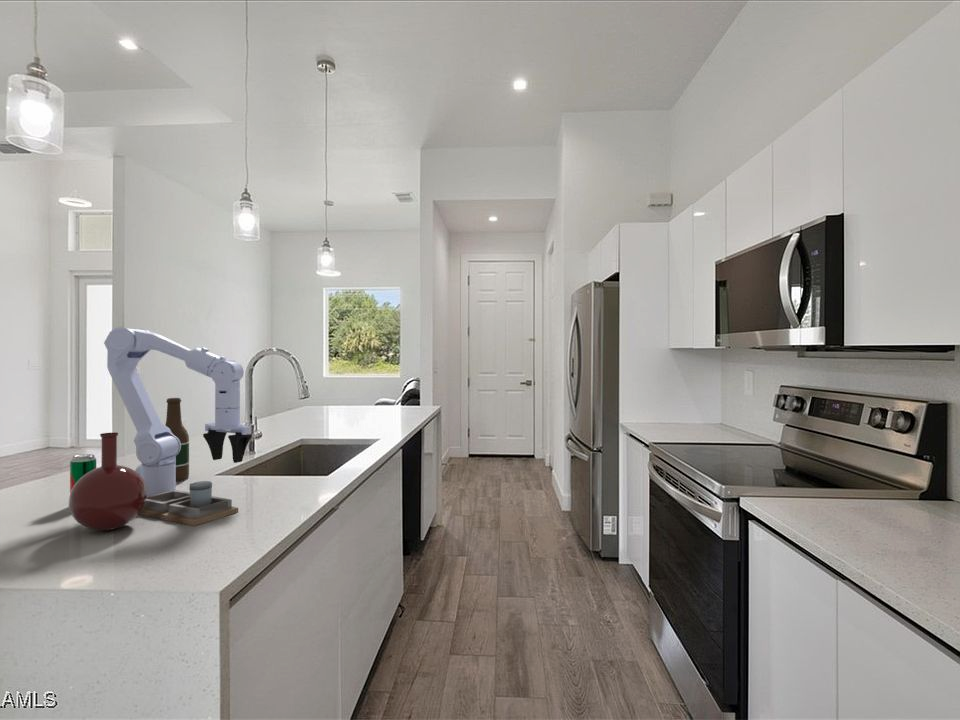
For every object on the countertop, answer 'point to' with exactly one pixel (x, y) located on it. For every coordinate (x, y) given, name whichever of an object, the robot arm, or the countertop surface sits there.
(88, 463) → the soda can
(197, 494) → the grey plastic cylinder
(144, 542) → the countertop surface
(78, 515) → the round-bottom flask
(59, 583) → the countertop surface
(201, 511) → the caddy
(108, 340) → the robot arm
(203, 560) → the countertop surface
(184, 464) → the beer bottle
